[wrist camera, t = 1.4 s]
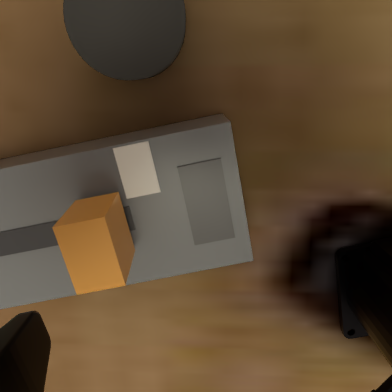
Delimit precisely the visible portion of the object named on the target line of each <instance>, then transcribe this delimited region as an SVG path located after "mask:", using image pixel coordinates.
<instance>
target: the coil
mask: <svg viewBox="0 0 392 392" xmlns="http://www.w3.org/2000/svg"><path fill="white" fill-rule="evenodd" d="M63 13H64V21H65V26H66V30H67V33H68V36H69V38H70V40H71V42H72V44H73V46H74V48H75V49H76V51H77V52H78V54H79V55H80V56H81V57H82V59H83V60H84V61H85V62H86V63H87V64H88V65H90V66H91V67H92V68H94V69H95V70H96V71H98V72H100V73H102V74H104V75H106V76H108V77H111V78H115V79H120V80H138V79H145V78H150V77H153V76H155V75H157V74H159V73H161V72H163V71H164V70H165V69H167V68H168V67H169V66H170V65H171V64H172V63H173V62H174V60H175V59H176V57H177V56H178V54H179V52H180V50H181V47H182V45H183V41H184V37H185V24H186V13H185V5H184V0H64V3H63Z"/></svg>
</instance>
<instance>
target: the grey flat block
mask: <svg viewBox="0 0 392 392" xmlns="http://www.w3.org/2000/svg"><path fill="white" fill-rule="evenodd" d="M115 192H119V195H120V199H121V202H122V205H123V209H124V212H125V216H126V219H127V223H128V226H129V230H130V233H131V237H132V240H133V244H134V247H135V253H134V257H133V260H132V264H131V268H130V271H129V275H128V278H127V282H126V285H129V284H135V283H140V282H145V281H150V280H155V279H161V278H166V277H171V276H176V275H181V274H187V273H192V272H197V271H202V270H207V269H213V268H218V267H223V266H228V265H233V264H239V263H244V262H249V261H253V255H252V249H251V243H250V237H249V231H248V225H247V219H246V212H245V206H244V200H243V194H242V188H241V182H240V176H239V170H238V164H237V158H236V152H235V146H234V140H233V134H232V128H231V122H230V121H229V120H228V119H227V118H226V117H225V116H224V115H223V114H217V115H212V116H207V117H202V118H198V119H193V120H188V121H183V122H178V123H173V124H169V125H164V126H159V127H154V128H149V129H145V130H140V131H135V132H130V133H125V134H120V135H116V136H111V137H106V138H101V139H96V140H91V141H87V142H82V143H77V144H72V145H67V146H62V147H58V148H53V149H48V150H43V151H38V152H33V153H29V154H24V155H19V156H14V157H9V158H5V159H0V309H5V308H10V307H15V306H20V305H25V304H31V303H36V302H41V301H46V300H51V299H57V298H62V297H67V296H72V295H77V294H76V291H75V289H74V286H73V283H72V280H71V278H70V275H69V272H68V269H67V267H66V264H65V261H64V258H63V256H62V253H61V250H60V247H59V245H58V242H57V239H56V236H55V234H54V231H53V228H52V227H53V226H54V225H55V224H56V222H57V221H58V220H59V219H60V218H61V217H62V216H63V214H64V213H65V212H66V211H67V210H68V209H69V207H70V206H71V205H72V204H73V203H74V202H75V200H80V199H85V198H90V197H95V196H100V195H105V194H110V193H115Z"/></svg>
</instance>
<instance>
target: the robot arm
mask: <svg viewBox="0 0 392 392" xmlns="http://www.w3.org/2000/svg"><path fill="white" fill-rule="evenodd" d="M344 255H347V257H346V258H344V259H342V257H343V256H344ZM335 261H336V273H337V286H338V298H339V310H340V323H341V331H342V333H343V335H344V336H345V337H346V338H348V339H352V338H357V337H363V336H368V335H369V336H370V337H371V339H372V340H373V341H374V343H375V344H376V346H377V347H378V349H379V350H380V351H381V353H382V354H383V356H384V357H385V358H386V360H387V361H388V363H389V364H390V365H391V367H392V237H388V238H383V239H378V240H374V241H372V242H371V243H366V244H361V245H355V246H350V247H345V248H341V249H339V250H338V251H337V252H336V254H335ZM350 329H352V330H351V331H349V330H350ZM50 348H51V340H50V336H49V334H48V332H47V329H46V327H45V325H44V322H43V320H42V318H41V315H40V314H39V313H38V312H37V311H30V312H25V313H20V314H18V315H16V316H15V317H14V318H13V319H11V320H10V321H9V322H8V323H7V324H5V325H4V326H3V327H2V328H0V392H44V386H45V380H46V374H47V367H48V361H49V355H50ZM371 392H392V375H391V376H390V377H389V378H388V379H387V380H386V381H385V382H384V383H382V384H381V385H380V386H379V387H378V388H377V389H376V390H372V391H371Z"/></svg>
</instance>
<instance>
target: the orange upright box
mask: <svg viewBox="0 0 392 392" xmlns="http://www.w3.org/2000/svg"><path fill="white" fill-rule="evenodd" d="M52 228H53V231H54V234H55V236H56V239H57V242H58V245H59V247H60V250H61V253H62V256H63V258H64V261H65V264H66V267H67V269H68V272H69V275H70V278H71V280H72V283H73V286H74V289H75V291H76V294H77V295H79V294H84V293H89V292H94V291H100V290H105V289H110V288H115V287H120V286H126V282H127V278H128V275H129V271H130V268H131V264H132V260H133V257H134V253H135V247H134V244H133V240H132V237H131V233H130V230H129V226H128V223H127V219H126V216H125V212H124V209H123V205H122V202H121V199H120V195H119V192H115V193H110V194H105V195H100V196H95V197H90V198H85V199H80V200H75V202H74V203H73V204H72V205H71V206H70V207H69V209H68V210H67V211H66V212H65V213H64V214H63V216H62V217H61V218H60V219H59V220H58V221H57V222H56V224H55V225H54V226H53V227H52Z"/></svg>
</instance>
